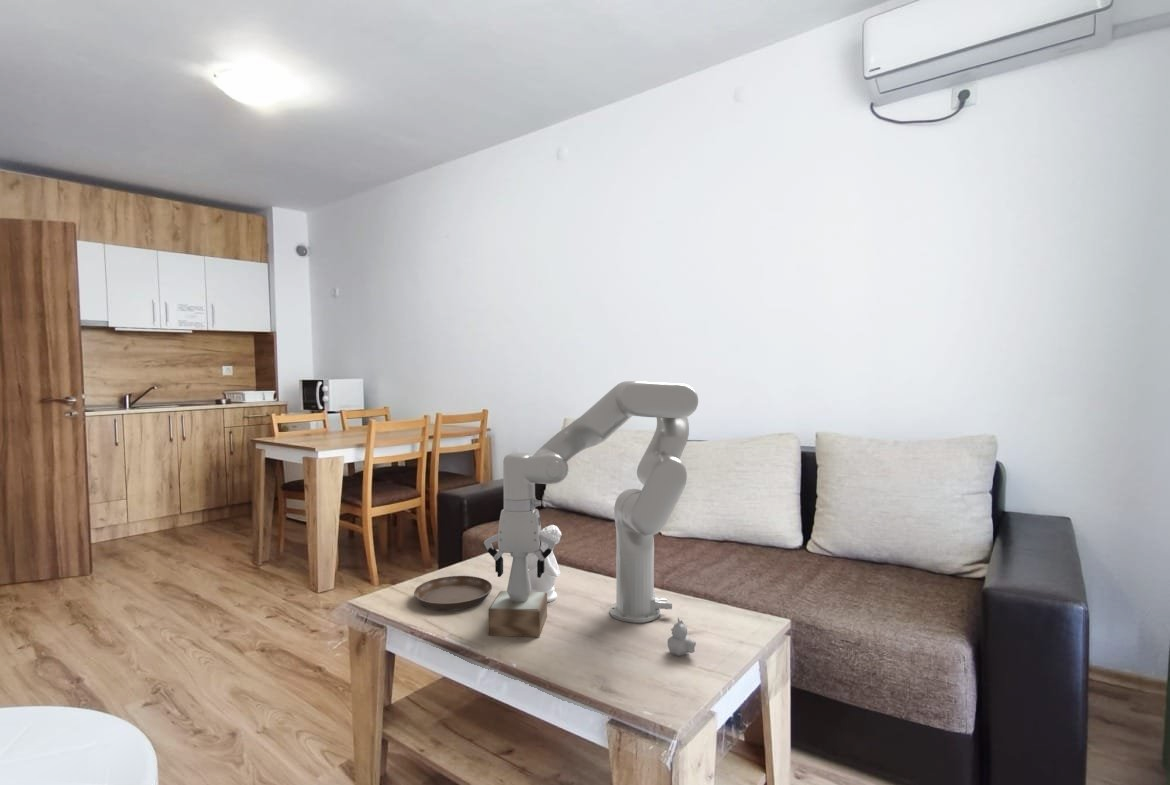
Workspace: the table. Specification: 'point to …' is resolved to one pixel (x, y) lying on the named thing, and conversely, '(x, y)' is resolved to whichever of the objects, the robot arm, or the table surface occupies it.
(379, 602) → the table surface
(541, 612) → the square box
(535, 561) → the cherub figurine
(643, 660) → the table surface
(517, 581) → the salt shaker
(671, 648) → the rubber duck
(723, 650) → the table surface
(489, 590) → the plant saucer
